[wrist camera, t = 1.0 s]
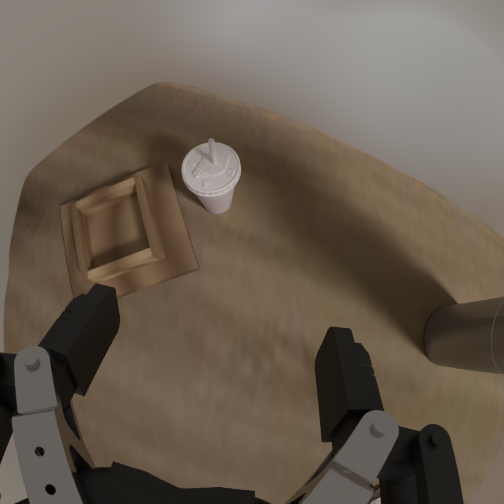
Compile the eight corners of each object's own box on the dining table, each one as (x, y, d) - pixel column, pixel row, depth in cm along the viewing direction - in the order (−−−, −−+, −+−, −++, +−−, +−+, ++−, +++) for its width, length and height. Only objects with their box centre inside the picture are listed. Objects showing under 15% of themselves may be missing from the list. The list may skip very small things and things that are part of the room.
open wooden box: (168, 165, 41) (161, 150, 36) (199, 269, 37) (194, 262, 33) (64, 209, 39) (50, 198, 35) (81, 310, 35) (65, 308, 31)
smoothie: (250, 207, 39) (254, 150, 26) (209, 233, 38) (193, 186, 25) (224, 172, 41) (218, 107, 27) (185, 196, 40) (161, 138, 26)
